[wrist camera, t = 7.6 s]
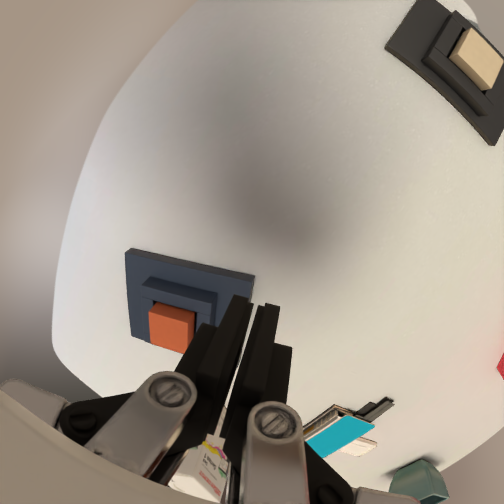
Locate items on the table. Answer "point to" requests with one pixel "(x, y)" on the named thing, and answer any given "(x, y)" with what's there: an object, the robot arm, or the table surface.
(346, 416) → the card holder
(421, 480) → the flower pot
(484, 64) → the tan square block
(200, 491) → the ink box
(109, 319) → the table surface
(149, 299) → the stepped blue base
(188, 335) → the orange block
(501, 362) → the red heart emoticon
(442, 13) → the stepped dark pedestal
